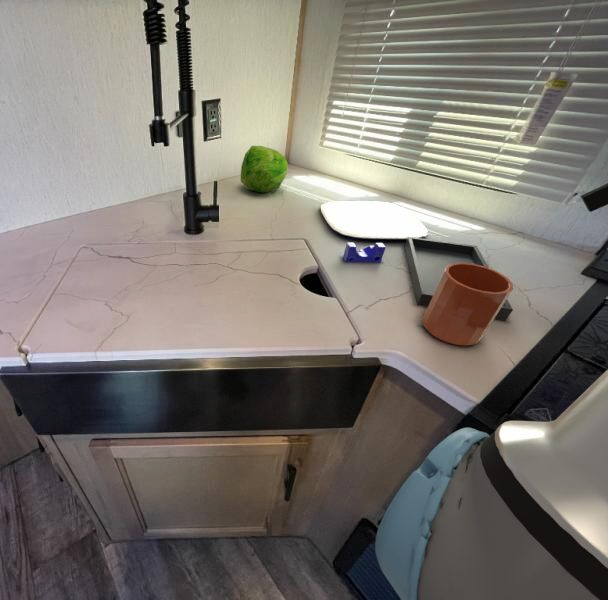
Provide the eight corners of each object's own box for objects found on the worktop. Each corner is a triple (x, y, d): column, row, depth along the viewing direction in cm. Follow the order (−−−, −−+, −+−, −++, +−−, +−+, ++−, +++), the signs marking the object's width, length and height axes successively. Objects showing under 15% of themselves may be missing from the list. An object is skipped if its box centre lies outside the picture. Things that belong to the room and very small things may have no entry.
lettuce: (277, 180, 128) (292, 144, 118) (275, 209, 114) (292, 170, 104) (239, 169, 128) (251, 131, 118) (232, 196, 114) (245, 156, 104)
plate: (396, 206, 108) (398, 201, 107) (437, 244, 87) (439, 238, 86) (313, 205, 108) (314, 200, 107) (335, 243, 88) (336, 236, 87)
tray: (505, 321, 63) (513, 309, 62) (417, 304, 67) (422, 293, 66) (471, 255, 83) (476, 245, 81) (404, 246, 87) (407, 236, 85)
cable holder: (374, 255, 83) (379, 239, 80) (380, 262, 80) (385, 247, 78) (341, 254, 83) (345, 239, 81) (345, 262, 80) (349, 246, 78)
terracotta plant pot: (492, 344, 58) (528, 290, 52) (445, 351, 57) (475, 296, 51) (452, 311, 66) (479, 260, 59) (409, 316, 64) (432, 265, 58)
